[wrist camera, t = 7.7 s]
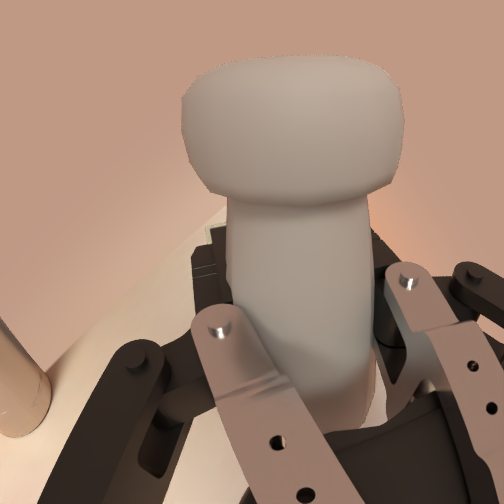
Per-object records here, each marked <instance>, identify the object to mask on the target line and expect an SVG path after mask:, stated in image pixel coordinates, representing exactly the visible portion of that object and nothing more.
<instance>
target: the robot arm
mask: <svg viewBox="0 0 504 504" xmlns="http://www.w3.org/2000/svg"><path fill="white" fill-rule="evenodd" d="M370 228H371V227H370ZM210 234H211V240H212V244H207V245H202V246H197V247H196V249H195V250H194V252H193V254H192V256H191V265H192V277H193V290H194V301H195V312H196V316H195V317H194V319H193V321H192V323H191V328H190V329H189V330H188V332H186V333H185V334H184V335H183V336H181V337H180V338H178V339H176V340H174V341H172V342H170V343H168V344H166V345H164V346H161V347H160V346H159V345H158V344H157V343H155V342H153V341H151V340H146V339H139V340H134V341H131V342H128V343H126V344H124V345H123V346H121V347H120V348H119V349H118V350H117V351H116V352H115V354H114V355H113V357H112V358H111V360H110V362H109V364H108V365H107V367H106V369H105V371H104V372H103V374H102V376H101V378H100V379H99V381H98V383H97V385H96V387H95V388H94V390H93V392H92V394H91V396H90V398H89V399H88V401H87V403H86V405H85V407H84V409H83V411H82V412H81V414H80V416H79V418H78V420H77V422H76V424H75V426H74V428H73V430H72V432H71V433H70V435H69V437H68V439H67V441H66V443H65V445H64V447H63V449H62V451H61V453H60V455H59V457H58V459H57V462H56V464H55V466H54V468H53V470H52V472H51V474H50V476H49V478H48V480H47V483H46V485H45V487H44V489H43V491H42V494H41V496H40V498H39V500H38V503H37V504H162V503H163V501H164V498H165V495H166V493H167V490H168V487H169V484H170V482H171V479H172V476H173V474H174V471H175V468H176V465H177V463H178V460H179V457H180V455H181V452H182V449H183V446H184V444H185V441H186V438H187V435H188V433H189V430H190V427H191V424H192V422H193V419H194V417H196V416H198V415H200V414H202V413H204V412H206V411H208V410H210V409H212V408H214V407H217V409H218V412H219V415H220V417H221V420H222V422H223V425H224V427H225V430H226V432H227V435H228V437H229V440H230V442H231V445H232V447H233V450H234V452H235V454H236V457H237V459H238V462H239V464H240V466H241V469H242V471H243V473H244V475H245V478H246V480H247V482H248V484H249V487H248V488H247V490H246V492H245V493H244V495H243V497H242V499H241V500H240V502H239V504H504V344H502V343H500V342H498V341H497V340H495V339H494V338H492V337H491V336H489V335H488V334H486V333H485V332H483V331H482V330H481V328H480V327H479V325H478V324H477V323H476V322H477V320H478V318H479V316H480V314H482V315H483V316H485V317H487V318H488V319H490V320H491V321H493V322H494V323H496V324H497V325H499V326H500V327H502V328H503V329H504V278H502V277H500V276H499V275H497V274H495V273H493V272H492V271H490V270H488V269H486V268H485V267H483V266H481V265H479V264H477V263H473V262H461V263H459V264H457V265H456V267H455V269H454V272H453V275H452V276H446V277H444V276H443V277H431V275H430V274H429V272H428V271H427V270H426V269H424V268H423V267H421V266H419V265H417V264H414V263H411V262H402V261H401V260H400V259H399V258H398V257H397V256H396V255H395V253H393V251H392V250H391V249H390V248H389V247H388V246H387V245H386V244H385V242H383V240H381V239H380V237H379V236H378V235H377V234H376V233H374V231H373V230H372V228H371V238H372V250H373V264H374V281H375V287H374V321H373V341H372V348H373V351H374V354H375V357H376V360H377V363H378V366H379V369H380V372H381V376H382V379H383V382H384V385H385V388H386V394H387V400H386V414H387V419H388V421H387V422H386V423H384V424H383V425H380V426H376V427H368V428H360V429H351V430H341V431H332V432H329V433H326V434H323V435H322V433H321V431H320V430H319V428H318V426H317V425H316V423H315V421H314V420H313V418H312V416H311V415H310V413H309V411H308V410H307V408H306V406H305V404H304V403H303V401H302V399H301V398H300V396H299V394H298V393H297V391H296V389H295V387H294V386H293V384H292V383H291V381H290V380H289V378H288V377H287V376H286V375H284V374H283V375H280V374H279V373H278V371H277V370H276V368H275V366H274V365H273V363H272V361H271V359H270V357H269V355H268V354H267V352H266V350H265V348H264V346H263V344H262V343H261V341H260V339H259V337H258V335H257V333H256V332H255V330H254V328H253V326H252V324H251V322H250V320H249V319H248V317H247V315H246V313H245V312H244V311H243V310H242V309H241V308H239V307H237V306H235V305H233V297H232V291H231V288H230V286H229V284H228V282H227V280H226V269H227V264H226V225H225V226H220V227H215V228H210ZM50 400H51V385H50V382H49V379H48V377H47V376H46V374H45V373H44V372H43V371H42V369H41V368H40V367H39V366H38V365H37V364H36V363H35V361H34V360H33V359H32V358H31V357H30V355H29V354H28V353H27V352H26V350H25V349H24V348H23V347H22V345H21V344H20V343H19V341H18V340H17V339H16V338H15V336H14V335H13V334H12V332H11V331H10V330H9V328H8V327H7V325H6V324H5V323H4V322H3V320H2V319H1V317H0V433H2V434H3V435H5V436H8V437H14V438H15V437H21V436H24V435H26V434H28V433H30V432H31V431H33V430H34V429H35V428H36V427H37V426H38V425H39V424H40V423H41V421H42V420H43V418H44V417H45V415H46V412H47V410H48V408H49V404H50Z"/></svg>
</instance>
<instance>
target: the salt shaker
mask: <svg viewBox="0 0 504 504" xmlns="http://www.w3.org/2000/svg"><path fill="white" fill-rule="evenodd" d="M181 127H182V129H181V131H182V135H183V139H184V143H185V146H186V151H187V154H188V157H189V162H190V164H191V165H192V167H193V168H194V170H195V172H196V173H197V175H198V176H199V178H200V179H201V180H202V182H203V183H204V184H205V186H206V187H207V189H208V190H209V191H210V192H212V193H215V194H219V195H222V196H225V197H227V222H226V264H227V269H226V280H227V282H228V284H229V286H230V288H231V291H232V297H233V305H235V306H237V307H239V308H241V309H242V310H243V311H244V312H245V313H246V315H247V317H248V319H249V320H250V322H251V324H252V326H253V328H254V330H255V332H256V333H257V335H258V337H259V339H260V341H261V343H262V344H263V346H264V348H265V350H266V352H267V354H268V355H269V357H270V359H271V361H272V363H273V365H274V366H275V368H276V370H277V371H278V373H279V374H280V375H283V374H284V375H286V376H287V377H288V378H289V380H290V381H291V383H292V384H293V386H294V387H295V389H296V391H297V393H298V394H299V396H300V398H301V399H302V401H303V403H304V404H305V406H306V408H307V410H308V411H309V413H310V415H311V416H312V418H313V420H314V421H315V423H316V425H317V426H318V428H319V430H320V431H321V433H322V435H323V434H326V433H329V432H332V431H341V430H351V429H357V428H359V427H360V426H361V425H362V424H363V423H364V421H365V419H366V416H367V413H368V410H369V408H370V405H371V402H372V399H373V396H374V393H375V375H376V357H375V354H374V351H373V348H372V341H373V321H374V287H375V281H374V264H373V250H372V238H371V228H370V218H369V210H368V200H367V194H369V193H372V192H374V191H376V190H378V189H380V188H382V187H384V186H386V185H388V184H390V183H391V182H392V179H393V177H394V175H395V173H396V170H397V168H398V164H399V160H400V155H401V150H402V141H403V131H404V114H403V107H402V101H401V94H400V88H399V86H398V85H397V84H396V83H395V82H394V81H393V80H392V78H391V77H390V76H389V75H388V74H387V73H386V72H385V70H384V69H383V68H381V67H379V66H376V65H374V64H372V63H369V62H366V61H364V60H362V59H358V58H352V57H345V56H338V55H291V56H275V57H260V58H251V59H244V60H240V61H235V62H231V63H227V64H223V65H220V66H218V67H216V68H214V69H212V70H210V71H208V72H206V73H204V74H202V75H200V76H198V77H197V78H196V80H195V81H194V82H193V83H192V85H191V86H190V87H189V89H188V90H187V91H186V93H185V94H184V95H183V97H182V125H181Z"/></svg>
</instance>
